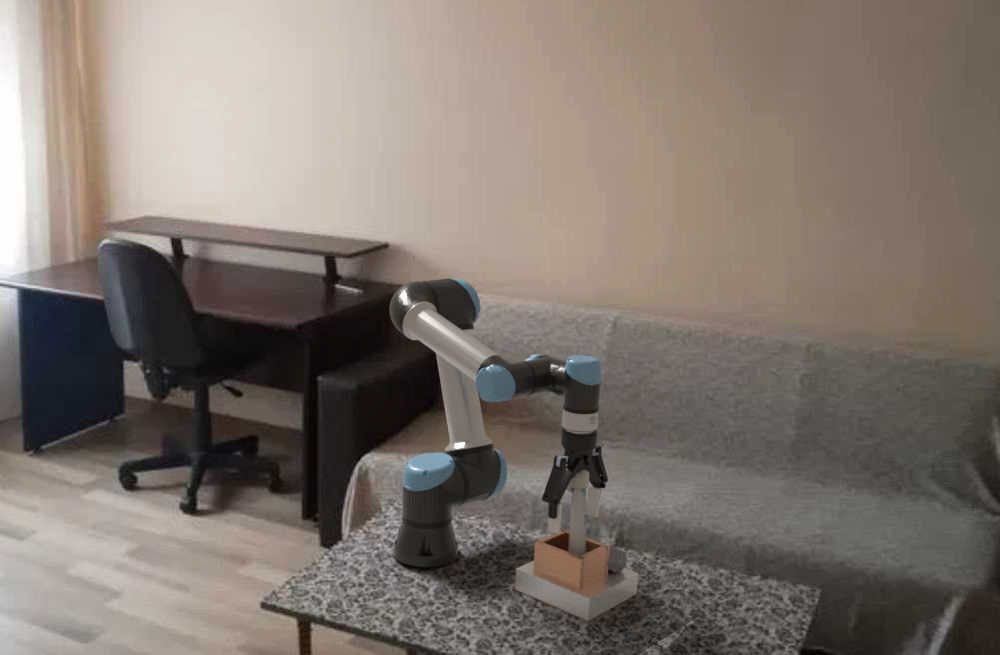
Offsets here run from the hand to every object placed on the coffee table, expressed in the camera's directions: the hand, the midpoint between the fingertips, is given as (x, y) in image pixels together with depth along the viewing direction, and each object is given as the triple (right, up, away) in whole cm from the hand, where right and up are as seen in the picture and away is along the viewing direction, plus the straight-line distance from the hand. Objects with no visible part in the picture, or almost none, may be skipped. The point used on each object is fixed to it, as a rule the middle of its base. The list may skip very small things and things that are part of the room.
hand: (573, 523), depth 221 cm
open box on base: (+1, -16, +5) cm, 17 cm away
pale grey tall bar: (0, -12, +3) cm, 12 cm away
